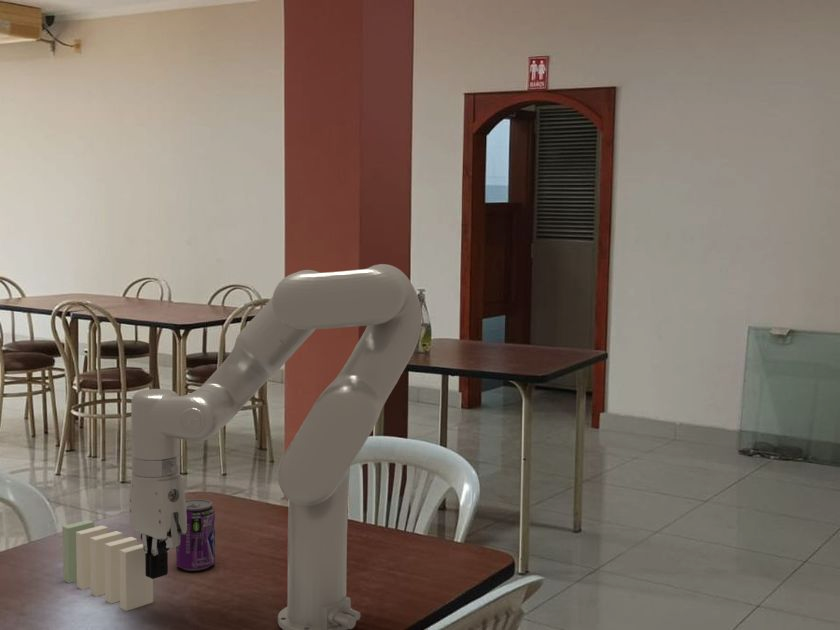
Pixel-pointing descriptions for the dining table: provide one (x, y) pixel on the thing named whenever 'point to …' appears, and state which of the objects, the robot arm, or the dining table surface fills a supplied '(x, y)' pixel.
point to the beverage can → (197, 537)
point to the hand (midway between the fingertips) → (156, 575)
